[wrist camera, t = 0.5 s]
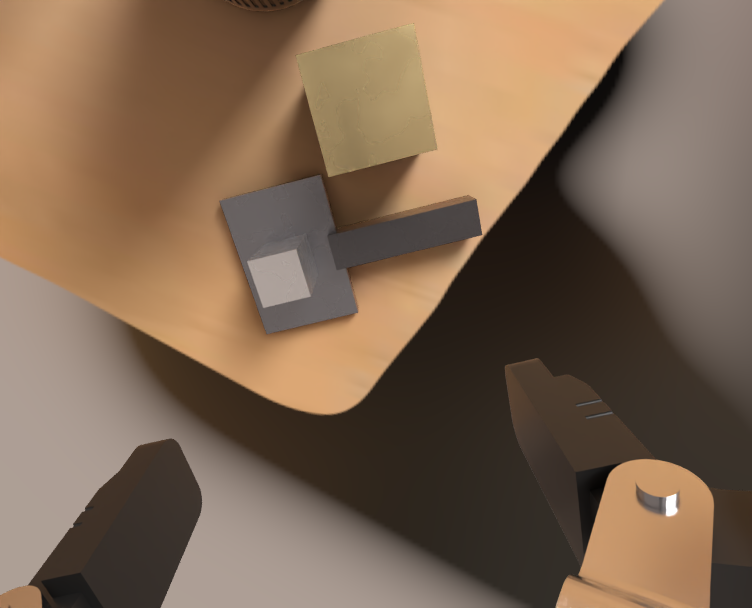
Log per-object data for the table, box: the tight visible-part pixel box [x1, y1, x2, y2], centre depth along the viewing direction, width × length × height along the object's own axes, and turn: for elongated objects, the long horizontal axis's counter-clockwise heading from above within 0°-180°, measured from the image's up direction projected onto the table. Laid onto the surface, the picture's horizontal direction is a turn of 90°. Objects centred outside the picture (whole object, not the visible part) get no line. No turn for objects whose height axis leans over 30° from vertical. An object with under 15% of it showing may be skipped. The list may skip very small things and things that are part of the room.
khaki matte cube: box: [296, 23, 437, 177], centre depth 26 cm, size 6×6×7 cm
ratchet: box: [220, 174, 482, 334], centre depth 30 cm, size 10×16×6 cm, turn 104°
